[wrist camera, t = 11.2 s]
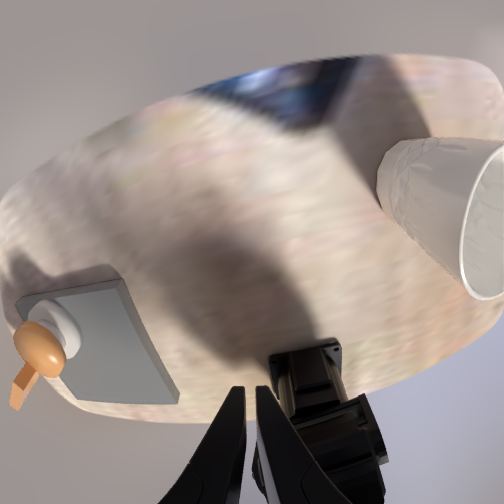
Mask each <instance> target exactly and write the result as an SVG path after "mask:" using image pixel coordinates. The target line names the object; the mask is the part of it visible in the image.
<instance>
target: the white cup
mask: <svg viewBox="0 0 504 504" xmlns="http://www.w3.org/2000/svg"><path fill="white" fill-rule="evenodd" d="M376 192H377V195H378V198H379V201H380V204H381V207H382V210H383V211H384V212H385V213H386V214H387V216H388V217H389V218H390V219H391V220H392V221H393V222H394V223H395V224H396V225H398V226H399V227H400V228H402V229H403V231H404V232H405V233H406V234H407V235H408V236H409V237H410V238H411V239H412V240H414V241H415V242H416V243H417V244H418V245H419V246H420V247H421V248H422V249H423V250H425V252H426V253H427V254H428V255H430V256H431V257H432V258H433V259H434V260H435V261H436V262H437V263H438V264H440V265H441V266H442V267H443V268H444V269H445V270H446V271H447V272H448V273H449V274H450V275H451V276H452V277H453V278H454V279H455V280H456V281H458V282H459V283H460V284H461V285H462V286H463V287H464V288H465V290H466V291H467V292H468V293H469V294H470V295H472V296H473V297H474V298H476V299H479V300H491V299H494V298H497V297H499V296H500V295H502V294H504V141H498V140H488V139H476V138H462V137H429V138H426V139H421V138H417V139H409V140H401V141H399V142H398V143H397V144H396V145H394V146H393V147H392V148H391V149H389V150H388V151H387V152H386V153H385V156H384V158H383V160H382V162H381V164H380V166H379V168H378V170H377V187H376Z"/></svg>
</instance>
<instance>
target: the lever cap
mask: <svg viewBox="0 0 504 504" xmlns="http://www.w3.org/2000/svg"><path fill="white" fill-rule="evenodd" d="M13 339H14V344H15V347H16V349H17V350H18V352H19V354H20V355H21V357H22V358H23V360H24V361H25V362H26V364H25V365H24V367H23V368H22V370H21V371H20V372H19V374H18V375H17V377H16V378H15V380H14V381H13V385H12V390H11V397H10V402H9V404H10V405H11V406H12V407H13V408H14V409H16V410H17V411H18V410H19V409H20V407H21V405H22V403H23V402H24V400H25V398H26V397H27V395H28V393H29V392H30V390H31V388H32V387H33V385H34V383H35V382H36V380H37V378H38V376H39V374H41V375H43V376H46V377H49V378H56V377H58V376H59V374H60V373H61V371H62V369H63V368H64V366H65V364H66V361H67V359H66V354H65V351H64V349H63V347H62V346H61V344H60V343H59V341H58V340H57V339H56V338H55V336H54V335H53V334H52V333H51V332H50V331H48V330H47V329H46V328H45V327H43V326H42V325H40V324H38V323H36V322H34V321H25V322H24V323H23V324H22V325H21V326H20V327H19V328H18V330H17V331H16V332H15V333H14V336H13Z"/></svg>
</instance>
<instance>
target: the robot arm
mask: <svg viewBox="0 0 504 504" xmlns="http://www.w3.org/2000/svg"><path fill="white" fill-rule="evenodd" d="M336 347H337V348H336ZM334 348H335V349H334ZM268 360H269V366H270V370H271V375H272V379H273V383H274V387H275V391H276V396H277V399H278V400H280V405H279V403H278V401H277V400H276V398H275V396H274V395H273V393H272V391H271V390H270V388H269V387H268V386H266V385H264V386H256V388H255V392H256V424H257V441H256V447H255V453H254V458H253V463H252V472H253V473H252V477H253V479H254V480H255V481H256V484H257V486H258V488H259V490H260V491H261V493H262V494H264V496H265V498H266V500H267V503H268V504H384V495H385V493H386V489H385V486H384V482H383V478H382V475H381V471H380V468H379V465H382V464H385V463H387V462H389V460H388V455H387V451H386V448H385V444H384V441H383V438H382V435H381V432H380V429H379V427H378V424H377V422H376V419H375V417H374V415H373V412H372V410H371V407H370V405H369V403H368V400H367V398H366V396H365V393H363V394H361V395H358V397H356V398H354V399H351V400H348V397H347V394H346V391H345V388H344V385H343V382H342V379H341V366H342V347H341V345H340V343H338V342H335V343H331V344H326V345H322V346H317V347H312V348H307V349H303V350H297V351H292V352H287V353H281V354H275V355H271V356H270V357H269V359H268ZM273 360H275V361H273ZM246 437H247V435H246V397H245V387H244V386H233V387H232V388H231V390H230V391H229V393H228V395H227V397H226V399H225V401H224V402H223V404H222V406H221V408H220V409H219V411H218V413H217V415H216V417H215V418H214V420H213V422H212V424H211V425H210V427H209V429H208V431H207V433H206V434H205V436H204V437H203V439H202V441H201V443H200V444H199V446H198V448H197V449H196V451H195V453H194V454H193V456H192V458H191V459H190V461H189V463H188V464H187V466H186V467H185V469H184V471H183V472H182V474H181V475H180V477H179V478H178V480H177V481H176V483H175V484H174V485H173V486H172V488H171V489H170V490H169V491H168V493H167V494H166V495H165V496H164V497H163V498H162V499H161V500H160V502H159V503H158V504H239V498H240V491H241V483H242V476H243V468H244V460H245V452H246V439H247V438H246Z"/></svg>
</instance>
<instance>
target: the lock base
mask: <svg viewBox="0 0 504 504" xmlns="http://www.w3.org/2000/svg"><path fill="white" fill-rule="evenodd" d="M14 305H15V306H16V308H17V310H18V312H19V314H20V316H21V318H22V320H23V321H24V322H25V321H34V322H36V323H38V324H40V325H42V326H43V327H45V328H46V329H47V330H48V331H50V332H51V333H52V334H53V335H54V336H55V338H56V339H57V340H58V341H59V343H60V344H61V346H62V347H63V349H64V351H65V354H66V359H67V361H66V364H65V366H64V368H63V369H62V371H61V373H60V374H59V377H60V378H61V380H62V381H63V382H64V384H65V385H66V386H67V388H68V389H69V390H70V391H71V393H72V394H73V395H74V396H75V398H76V399H77V400H86V401H96V402H107V403H123V404H178V400H179V395H180V393H179V391H178V389H177V388H176V386H175V384H174V382H173V381H172V379H171V377H170V375H169V374H168V372H167V370H166V368H165V366H164V365H163V363H162V361H161V359H160V357H159V355H158V353H157V351H156V349H155V347H154V346H153V344H152V342H151V340H150V338H149V336H148V334H147V331H146V329H145V327H144V325H143V323H142V321H141V319H140V317H139V315H138V312H137V310H136V308H135V306H134V304H133V301H132V299H131V297H130V294H129V292H128V290H127V287H126V285H125V282H124V280H123V279H118V280H112V281H107V282H101V283H96V284H90V285H85V286H79V287H74V288H68V289H63V290H57V291H52V292H46V293H41V294H35V295H30V296H24V297H22V298H20V299H19V300H18V301H17V302H16V303H15V304H14Z"/></svg>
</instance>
